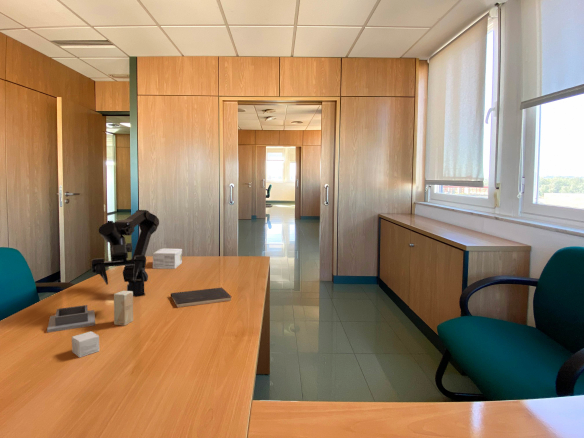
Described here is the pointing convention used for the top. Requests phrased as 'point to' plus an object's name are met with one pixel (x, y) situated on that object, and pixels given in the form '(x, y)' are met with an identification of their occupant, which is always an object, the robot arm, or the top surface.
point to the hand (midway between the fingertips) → (121, 282)
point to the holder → (71, 318)
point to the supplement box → (167, 258)
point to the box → (123, 308)
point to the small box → (85, 344)
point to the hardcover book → (200, 297)
